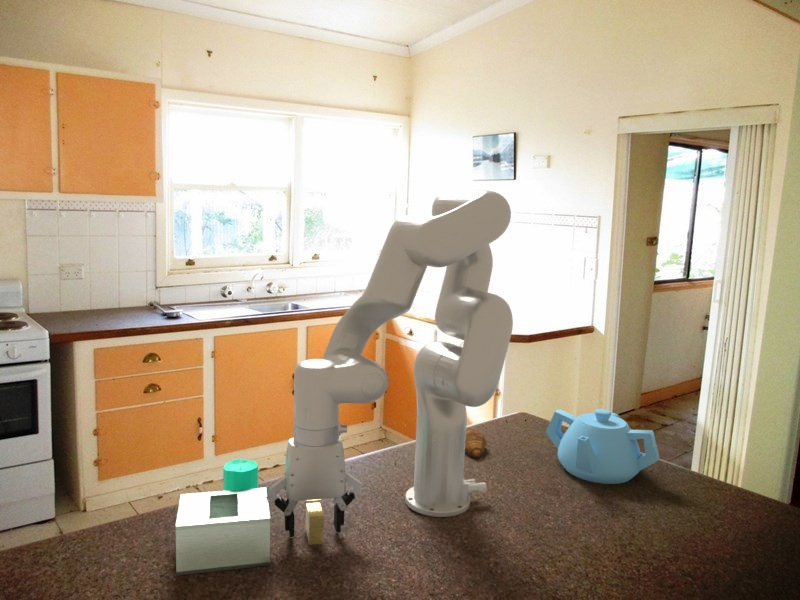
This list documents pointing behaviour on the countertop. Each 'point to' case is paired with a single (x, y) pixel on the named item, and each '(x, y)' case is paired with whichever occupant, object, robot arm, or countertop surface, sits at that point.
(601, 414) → the teapot
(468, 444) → the croissant
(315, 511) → the block
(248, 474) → the candle
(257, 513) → the coin box
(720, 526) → the countertop surface
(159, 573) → the countertop surface
